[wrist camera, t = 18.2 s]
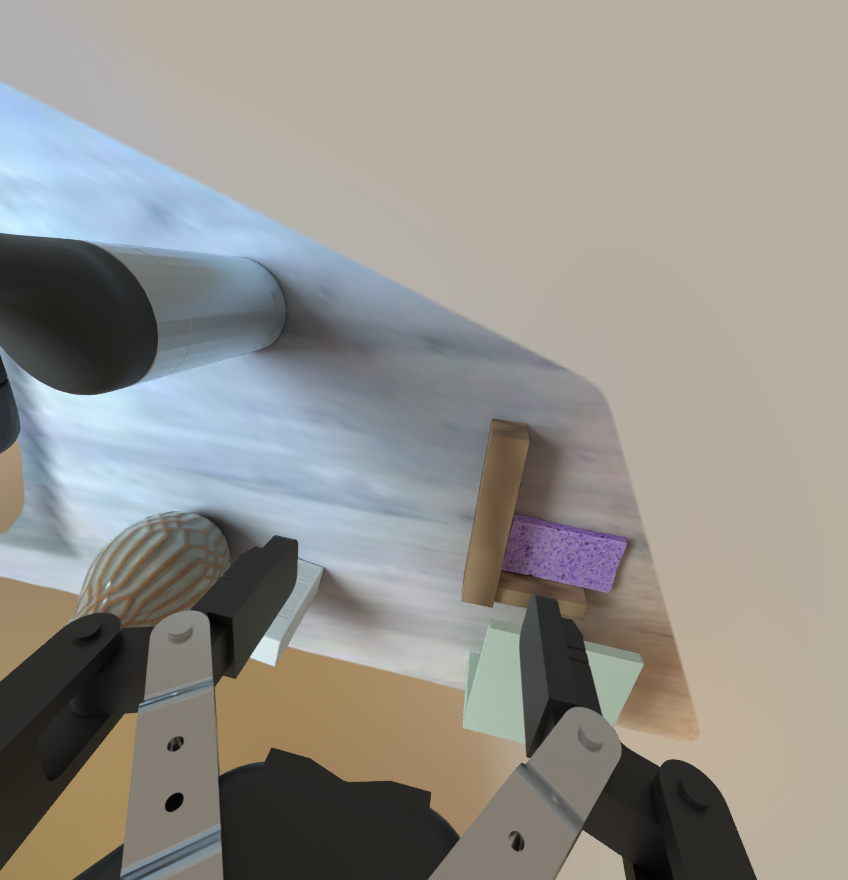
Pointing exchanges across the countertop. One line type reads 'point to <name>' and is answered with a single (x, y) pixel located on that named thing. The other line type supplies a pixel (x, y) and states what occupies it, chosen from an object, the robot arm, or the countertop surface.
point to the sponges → (563, 553)
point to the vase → (154, 569)
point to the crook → (506, 531)
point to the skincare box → (289, 614)
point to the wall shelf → (500, 690)
